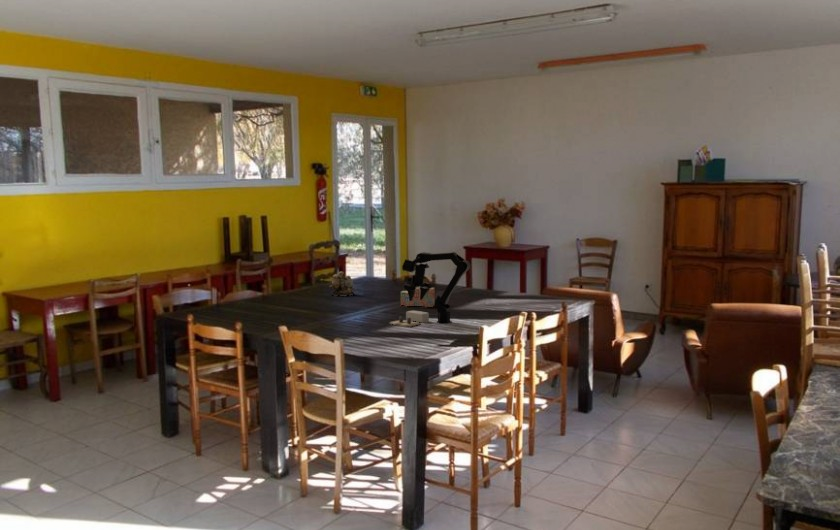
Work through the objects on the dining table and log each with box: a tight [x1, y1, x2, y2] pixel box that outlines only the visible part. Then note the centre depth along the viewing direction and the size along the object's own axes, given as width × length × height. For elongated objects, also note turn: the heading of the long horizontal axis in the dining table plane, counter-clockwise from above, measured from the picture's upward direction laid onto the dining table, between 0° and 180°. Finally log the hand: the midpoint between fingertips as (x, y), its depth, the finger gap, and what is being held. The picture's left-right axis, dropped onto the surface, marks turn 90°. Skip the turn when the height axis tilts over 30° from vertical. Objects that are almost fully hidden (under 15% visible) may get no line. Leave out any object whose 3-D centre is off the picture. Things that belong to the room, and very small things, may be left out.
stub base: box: [388, 315, 422, 328], centre depth 402 cm, size 15×10×4 cm, turn 50°
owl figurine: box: [329, 271, 356, 296], centre depth 500 cm, size 18×12×17 cm, turn 105°
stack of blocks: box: [399, 287, 436, 308], centre depth 457 cm, size 21×6×12 cm, turn 74°
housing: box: [405, 310, 430, 323], centre depth 411 cm, size 12×6×5 cm, turn 50°
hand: (415, 300), depth 411 cm, fingers open, 9 cm apart
